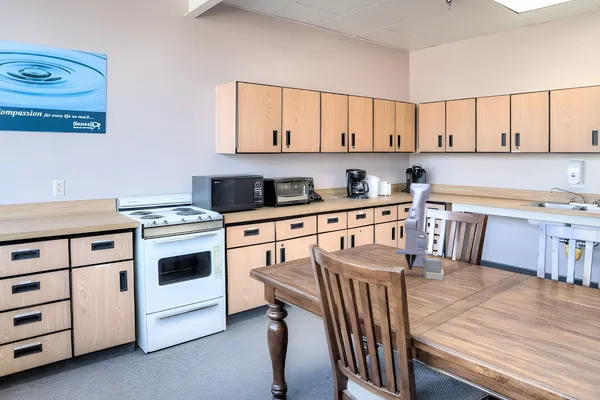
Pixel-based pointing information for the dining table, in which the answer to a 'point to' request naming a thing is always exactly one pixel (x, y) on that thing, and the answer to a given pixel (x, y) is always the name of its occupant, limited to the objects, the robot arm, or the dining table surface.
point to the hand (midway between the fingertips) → (410, 269)
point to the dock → (435, 275)
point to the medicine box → (431, 266)
